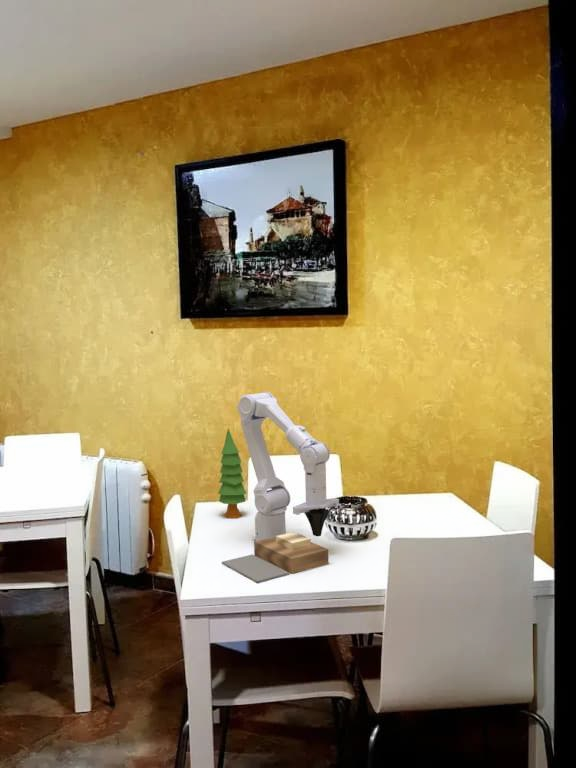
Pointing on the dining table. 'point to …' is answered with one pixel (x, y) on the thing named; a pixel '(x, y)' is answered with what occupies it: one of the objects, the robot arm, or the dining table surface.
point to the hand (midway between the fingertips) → (316, 535)
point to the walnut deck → (291, 555)
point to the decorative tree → (231, 478)
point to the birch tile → (293, 541)
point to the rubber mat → (255, 568)
